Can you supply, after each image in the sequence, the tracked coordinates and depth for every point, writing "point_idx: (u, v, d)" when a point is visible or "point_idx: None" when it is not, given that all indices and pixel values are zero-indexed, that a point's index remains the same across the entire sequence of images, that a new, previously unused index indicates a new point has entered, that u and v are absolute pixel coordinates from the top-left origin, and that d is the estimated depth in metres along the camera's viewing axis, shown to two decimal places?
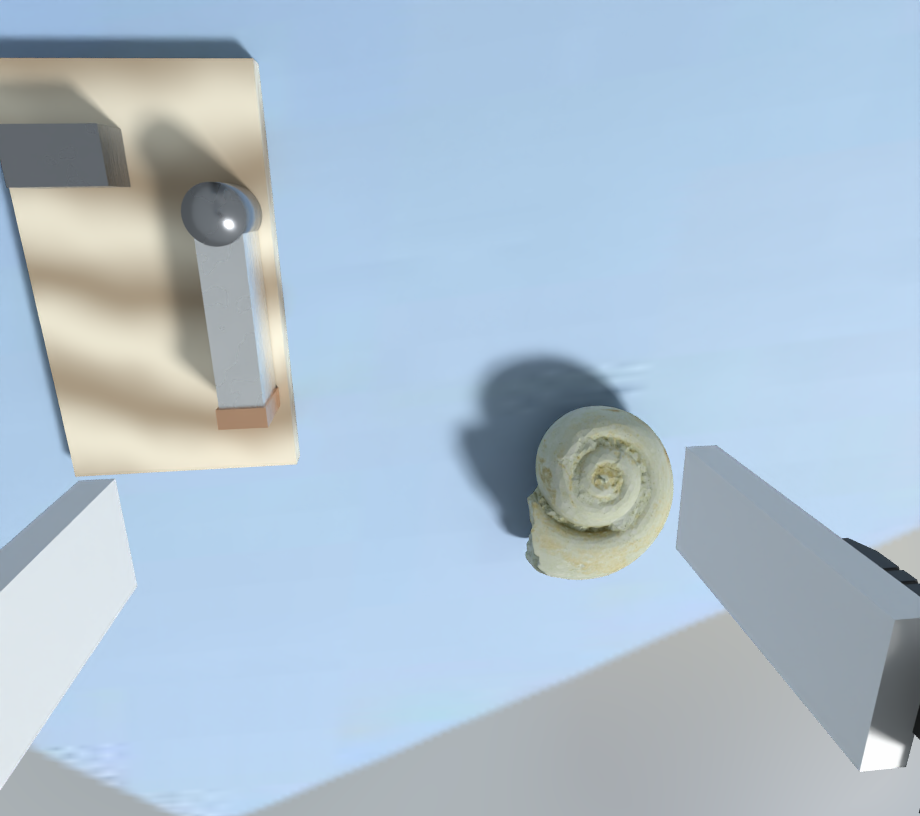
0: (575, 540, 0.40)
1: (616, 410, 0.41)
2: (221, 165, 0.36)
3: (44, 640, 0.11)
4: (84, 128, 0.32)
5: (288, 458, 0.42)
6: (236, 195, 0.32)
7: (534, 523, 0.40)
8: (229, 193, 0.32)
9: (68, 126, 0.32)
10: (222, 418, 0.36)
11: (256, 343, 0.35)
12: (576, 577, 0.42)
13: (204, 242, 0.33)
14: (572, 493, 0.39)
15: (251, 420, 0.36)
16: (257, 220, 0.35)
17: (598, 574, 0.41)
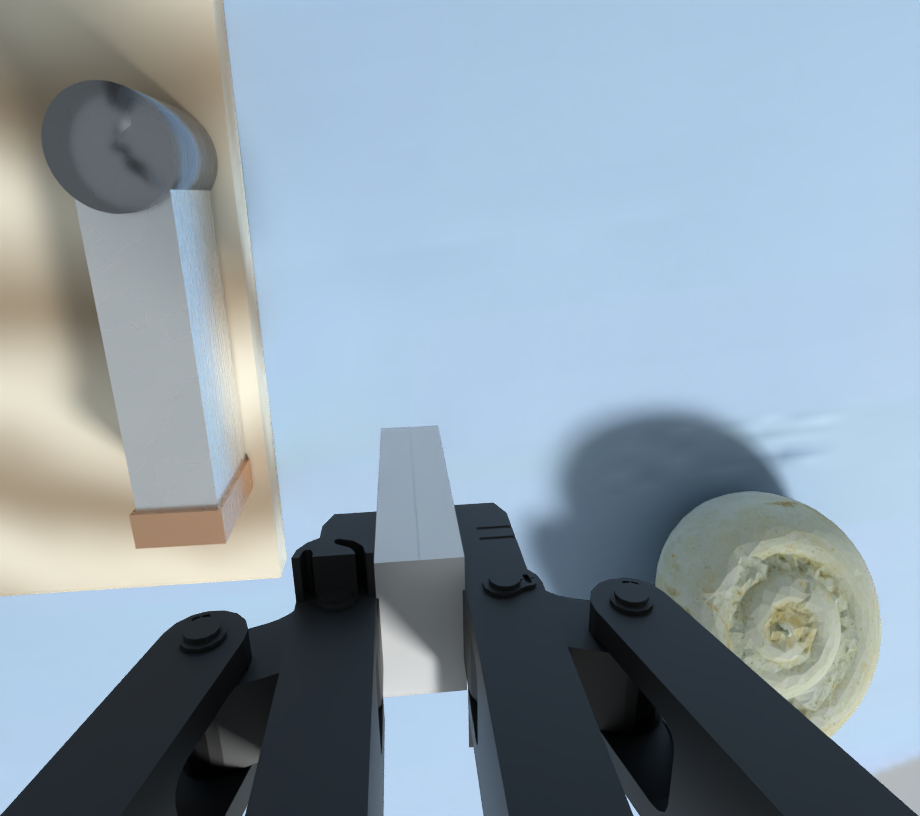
0: None
1: (788, 503, 0.25)
2: (141, 69, 0.20)
3: None
4: None
5: (267, 569, 0.26)
6: (153, 110, 0.16)
7: None
8: (139, 105, 0.16)
9: None
10: (142, 529, 0.20)
11: (202, 396, 0.19)
12: None
13: (93, 205, 0.17)
14: None
15: (196, 532, 0.20)
16: (206, 170, 0.19)
17: None
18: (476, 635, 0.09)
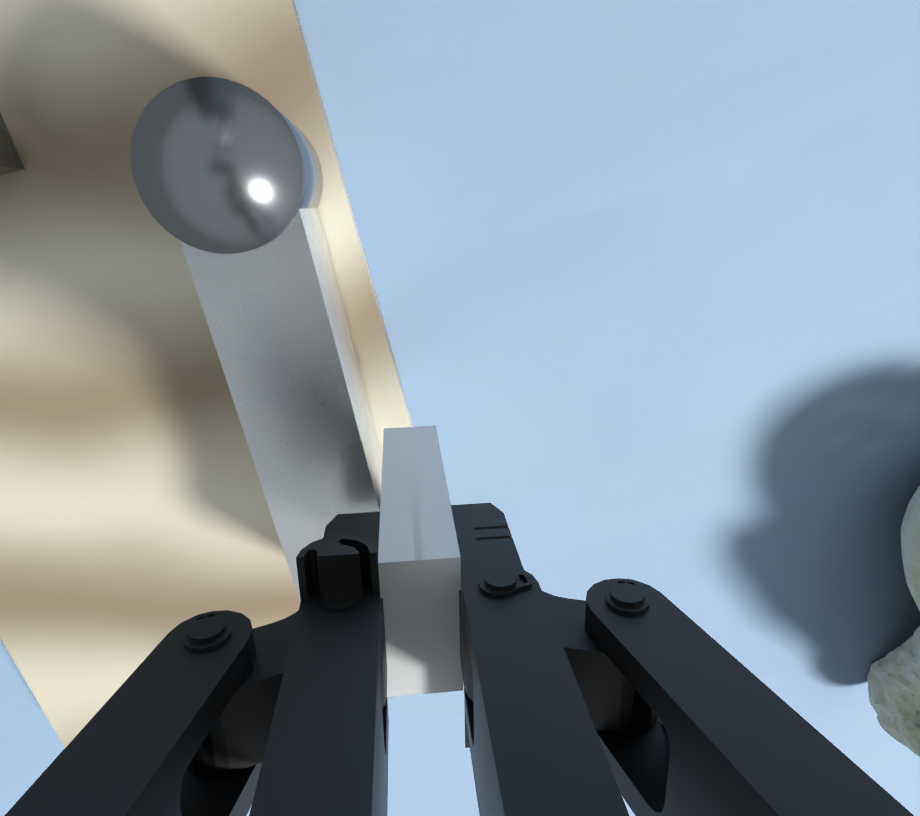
0: None
1: None
2: (210, 73, 0.16)
3: None
4: None
5: None
6: (269, 105, 0.12)
7: None
8: (250, 102, 0.12)
9: None
10: None
11: (368, 464, 0.15)
12: None
13: (208, 247, 0.13)
14: None
15: None
16: (318, 180, 0.15)
17: None
18: (472, 636, 0.09)
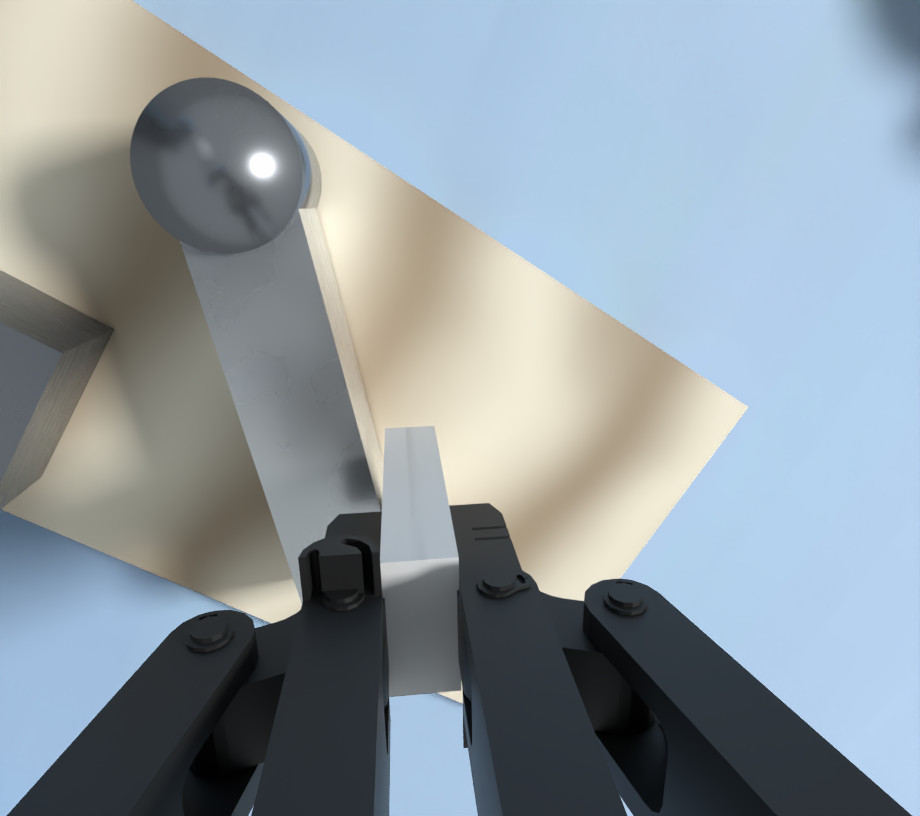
0: None
1: None
2: None
3: None
4: None
5: (728, 413, 0.20)
6: (268, 105, 0.12)
7: None
8: (249, 103, 0.12)
9: None
10: None
11: (368, 464, 0.15)
12: None
13: (208, 247, 0.13)
14: None
15: None
16: (317, 181, 0.15)
17: None
18: (470, 635, 0.09)
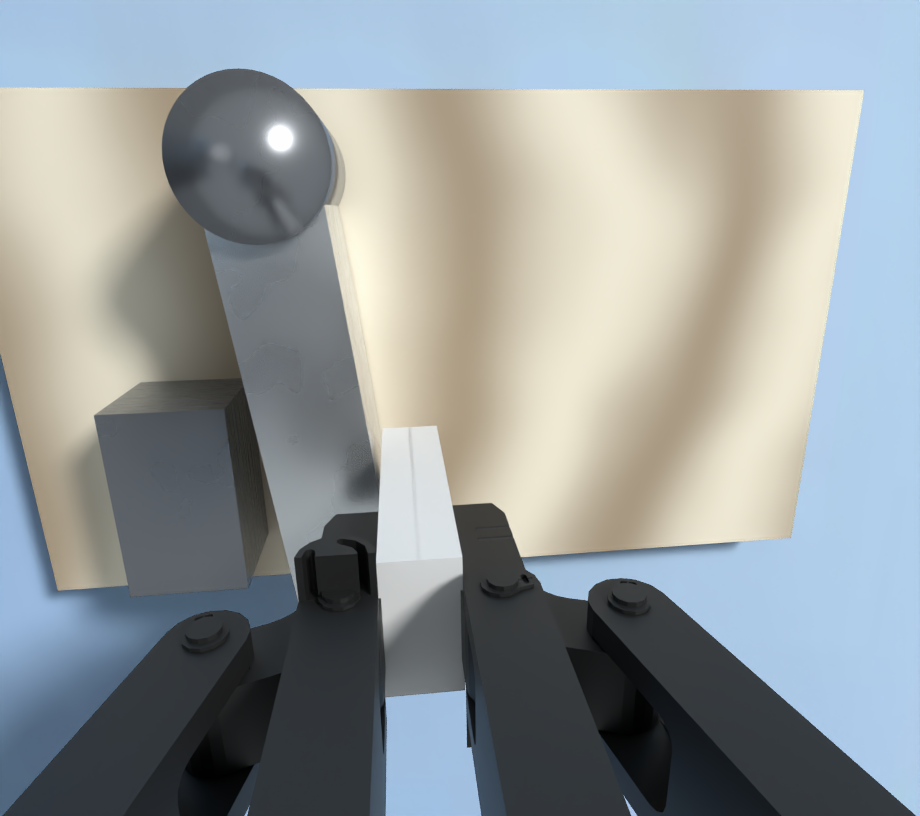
0: None
1: None
2: None
3: None
4: (109, 440, 0.15)
5: (846, 109, 0.18)
6: (303, 101, 0.12)
7: None
8: (284, 97, 0.12)
9: (110, 469, 0.15)
10: None
11: (374, 462, 0.15)
12: None
13: (232, 237, 0.13)
14: None
15: None
16: (341, 178, 0.15)
17: None
18: (474, 635, 0.09)
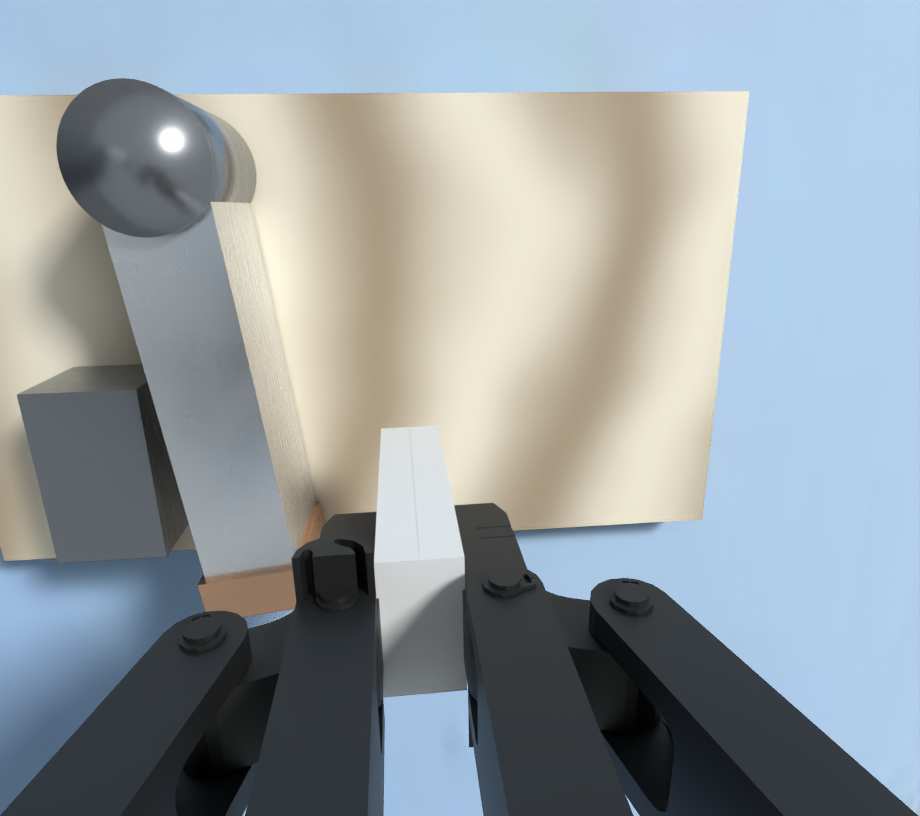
0: None
1: None
2: None
3: None
4: (32, 417, 0.17)
5: (732, 109, 0.19)
6: (183, 107, 0.13)
7: None
8: (166, 104, 0.13)
9: (34, 444, 0.17)
10: (214, 599, 0.17)
11: (268, 440, 0.16)
12: None
13: (123, 230, 0.14)
14: None
15: (275, 596, 0.17)
16: (245, 178, 0.17)
17: None
18: (476, 635, 0.09)
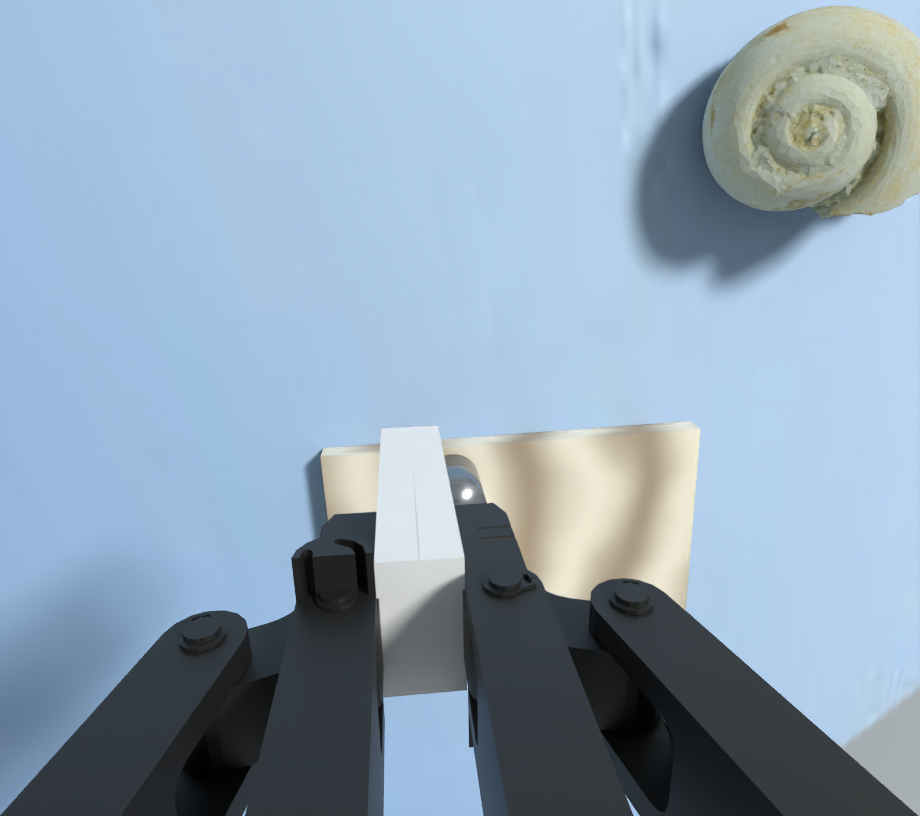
0: (892, 157, 0.31)
1: (712, 113, 0.33)
2: None
3: None
4: None
5: (693, 436, 0.40)
6: (479, 491, 0.35)
7: (860, 212, 0.32)
8: (473, 491, 0.35)
9: None
10: None
11: None
12: None
13: None
14: (827, 173, 0.31)
15: None
16: None
17: None
18: (476, 635, 0.09)
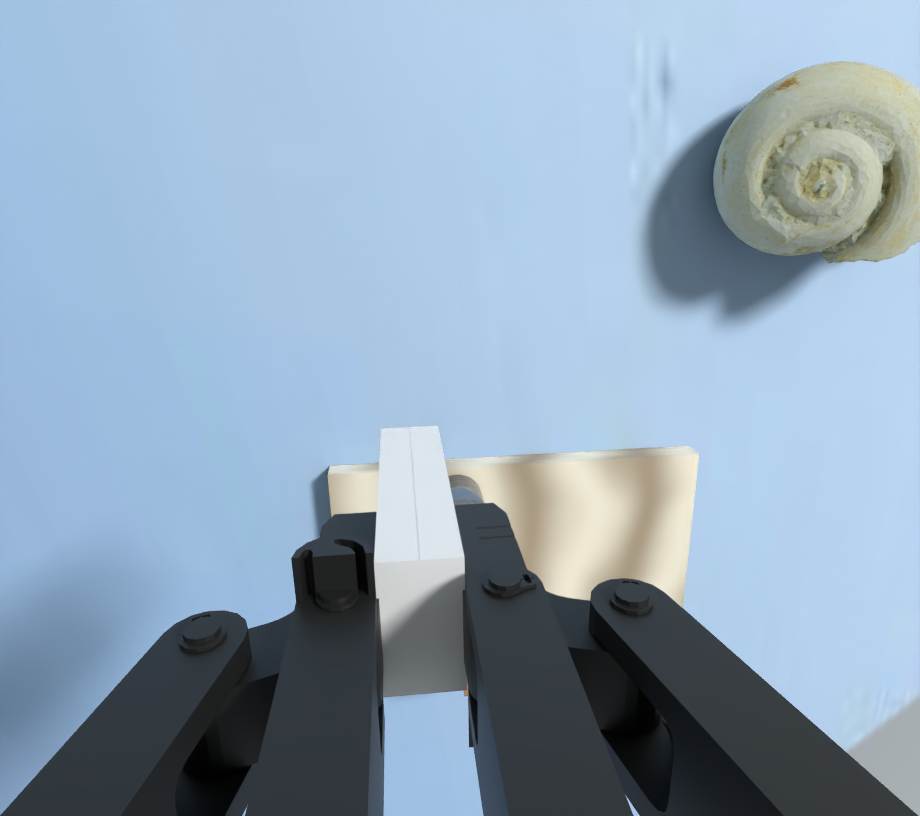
0: (897, 208, 0.32)
1: (723, 161, 0.34)
2: None
3: None
4: None
5: (691, 461, 0.41)
6: None
7: (866, 259, 0.34)
8: None
9: None
10: None
11: None
12: None
13: None
14: (835, 223, 0.32)
15: None
16: None
17: None
18: (476, 635, 0.09)
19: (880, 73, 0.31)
